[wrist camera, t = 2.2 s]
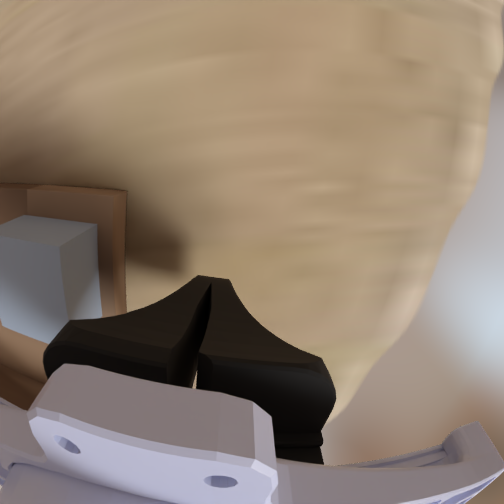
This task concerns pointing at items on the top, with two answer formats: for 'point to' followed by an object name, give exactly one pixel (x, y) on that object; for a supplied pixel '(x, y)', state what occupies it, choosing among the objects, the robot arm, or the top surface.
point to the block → (47, 275)
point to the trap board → (109, 265)
